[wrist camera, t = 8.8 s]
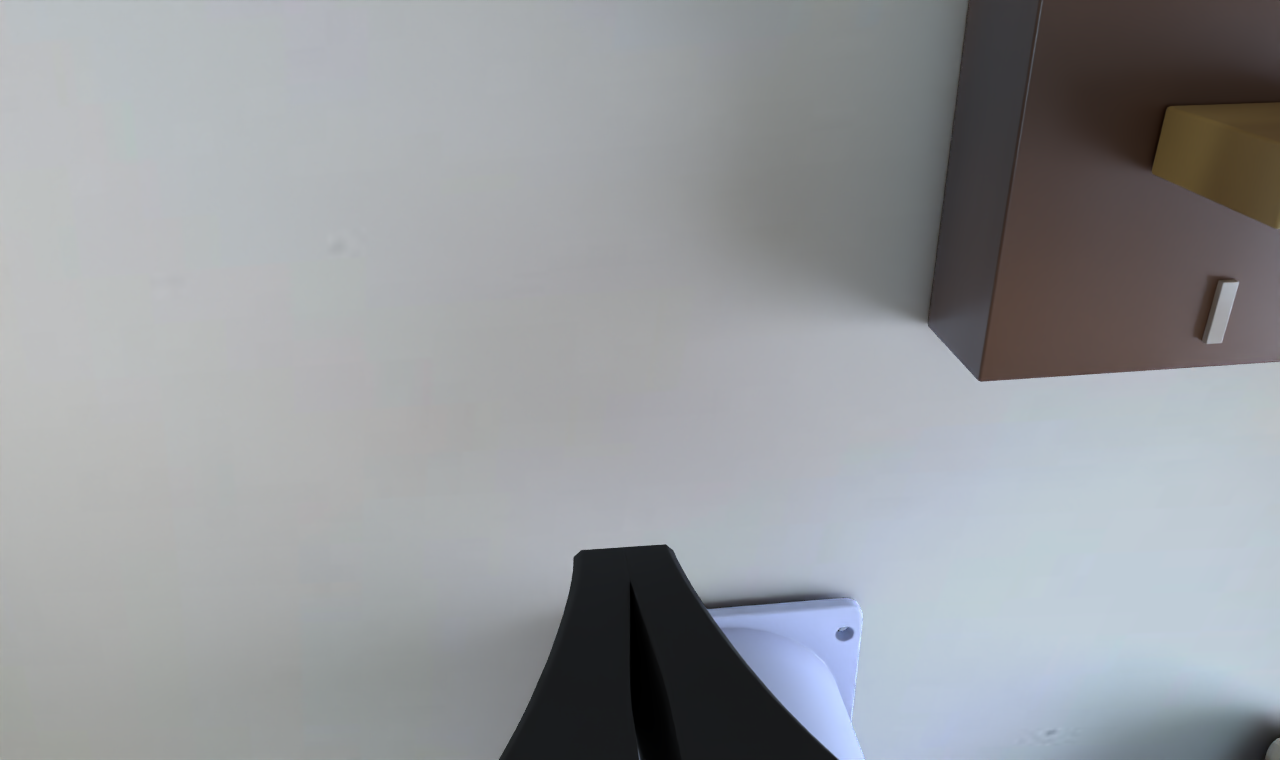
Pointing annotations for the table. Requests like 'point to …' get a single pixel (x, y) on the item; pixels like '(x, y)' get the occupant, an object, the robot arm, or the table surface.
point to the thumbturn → (1225, 155)
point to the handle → (1273, 751)
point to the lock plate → (1100, 192)
